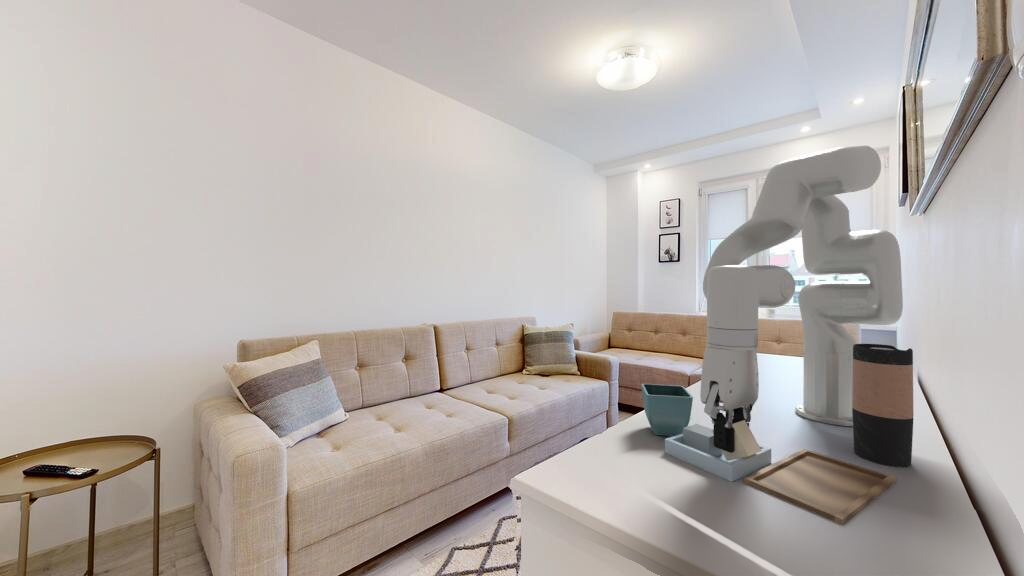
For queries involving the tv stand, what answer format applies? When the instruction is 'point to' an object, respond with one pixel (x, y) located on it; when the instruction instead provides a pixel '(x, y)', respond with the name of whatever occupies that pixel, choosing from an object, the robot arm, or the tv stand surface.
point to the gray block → (701, 439)
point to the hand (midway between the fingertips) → (731, 445)
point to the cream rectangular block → (742, 442)
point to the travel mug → (883, 404)
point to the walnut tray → (822, 484)
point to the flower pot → (667, 408)
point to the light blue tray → (718, 459)
